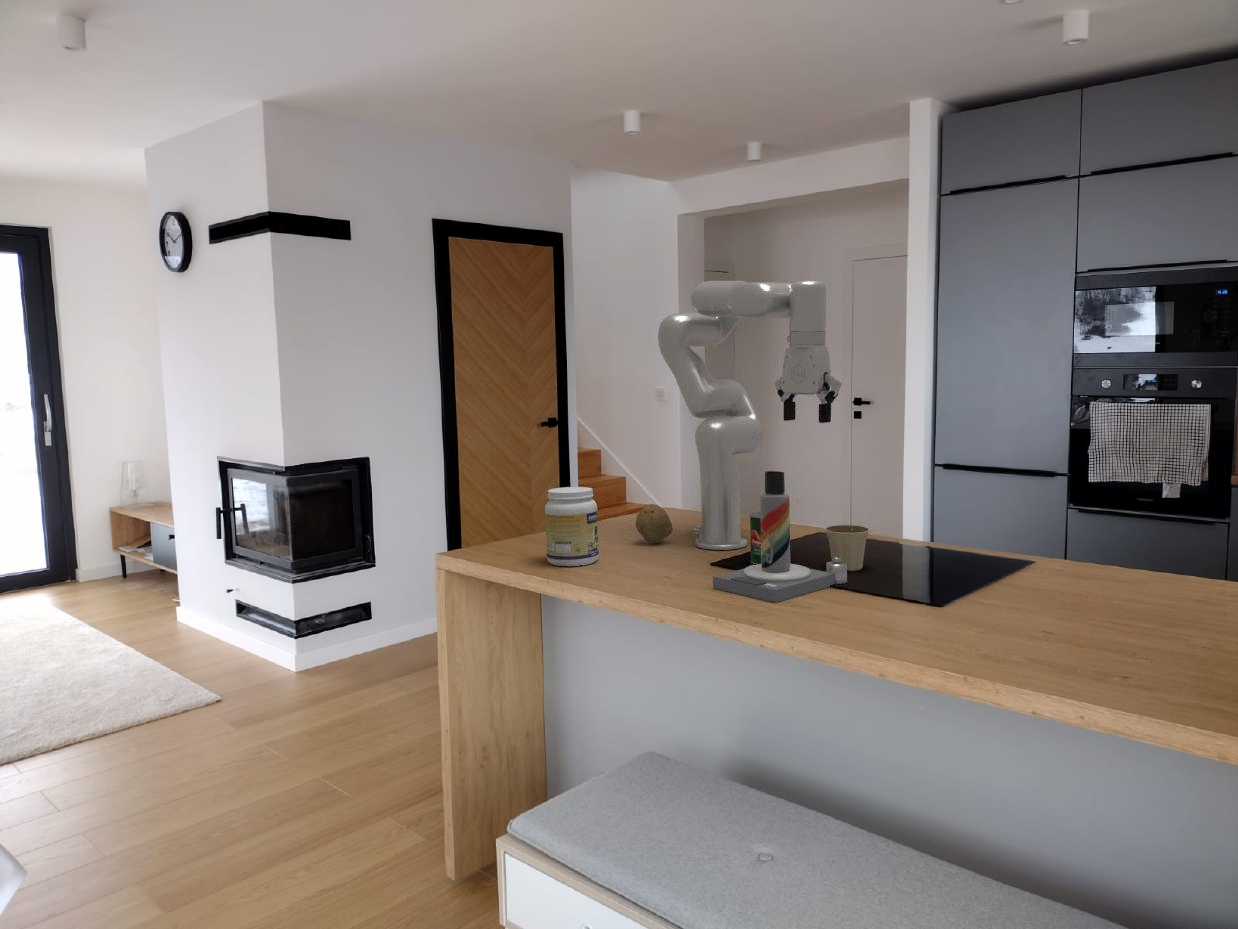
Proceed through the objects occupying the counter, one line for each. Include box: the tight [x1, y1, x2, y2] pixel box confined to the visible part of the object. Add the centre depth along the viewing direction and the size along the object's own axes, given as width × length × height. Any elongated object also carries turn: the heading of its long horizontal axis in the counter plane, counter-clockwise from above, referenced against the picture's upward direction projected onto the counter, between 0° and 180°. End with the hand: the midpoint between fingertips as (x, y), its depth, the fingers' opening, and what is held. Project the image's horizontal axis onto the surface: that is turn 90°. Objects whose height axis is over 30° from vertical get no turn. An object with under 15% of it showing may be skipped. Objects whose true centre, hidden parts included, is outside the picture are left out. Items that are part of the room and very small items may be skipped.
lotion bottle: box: [759, 470, 791, 573], centre depth 175 cm, size 6×6×20 cm
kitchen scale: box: [712, 563, 835, 604], centre depth 175 cm, size 16×18×3 cm
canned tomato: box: [749, 511, 761, 565], centre depth 196 cm, size 8×8×11 cm
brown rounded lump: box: [635, 503, 673, 545], centre depth 223 cm, size 9×9×10 cm
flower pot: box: [824, 524, 871, 572], centre depth 189 cm, size 9×9×9 cm
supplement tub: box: [544, 486, 600, 567], centre depth 204 cm, size 12×12×17 cm
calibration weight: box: [825, 557, 848, 584], centre depth 177 cm, size 4×4×5 cm
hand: (806, 421), depth 189 cm, fingers open, 9 cm apart
